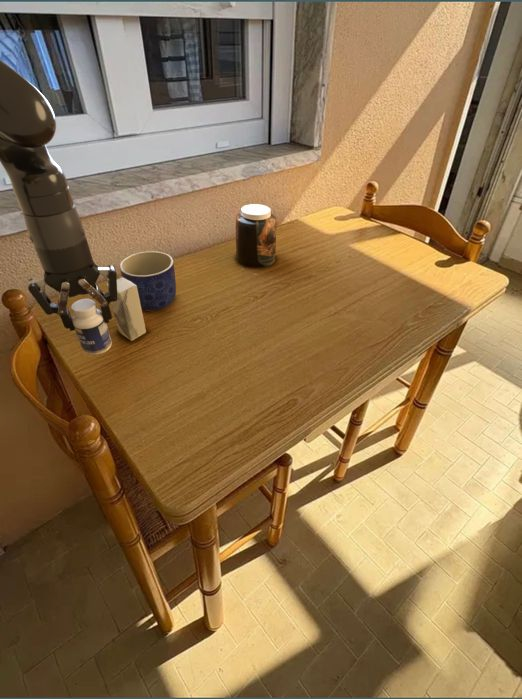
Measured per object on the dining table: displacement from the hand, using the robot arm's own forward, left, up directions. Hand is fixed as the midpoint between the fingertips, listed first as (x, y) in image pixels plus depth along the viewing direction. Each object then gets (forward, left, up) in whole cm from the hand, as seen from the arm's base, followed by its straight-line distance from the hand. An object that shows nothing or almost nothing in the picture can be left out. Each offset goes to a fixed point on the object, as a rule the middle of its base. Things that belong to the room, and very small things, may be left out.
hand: (89, 324), depth 70 cm
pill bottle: (0, 0, -6) cm, 6 cm away
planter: (+14, +22, -12) cm, 29 cm away
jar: (+47, +34, -12) cm, 59 cm away
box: (+7, +11, -12) cm, 18 cm away
